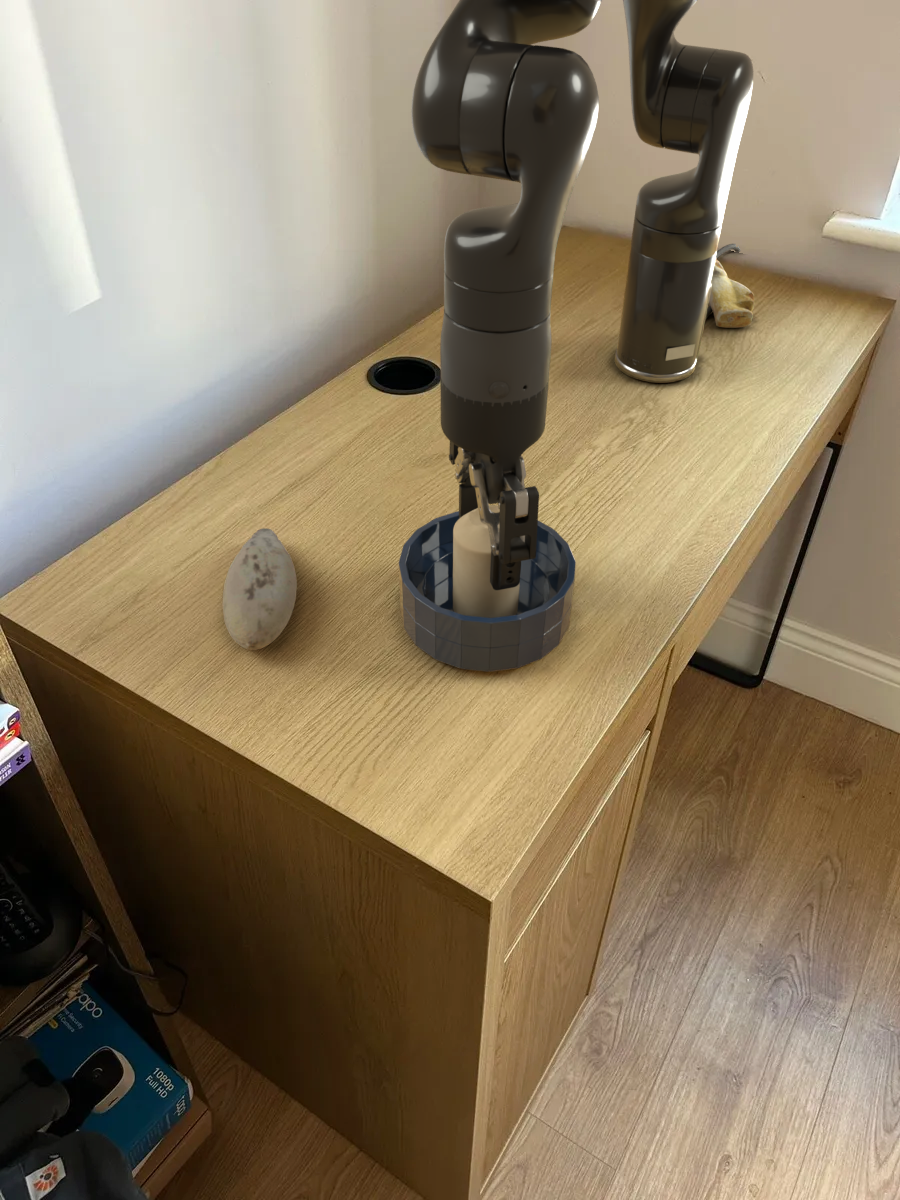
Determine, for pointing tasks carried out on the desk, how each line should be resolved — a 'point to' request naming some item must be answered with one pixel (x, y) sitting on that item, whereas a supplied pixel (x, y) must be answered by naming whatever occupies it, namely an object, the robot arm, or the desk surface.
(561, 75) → the robot arm
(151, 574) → the desk surface
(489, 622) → the bowl
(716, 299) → the figurine
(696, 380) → the desk surface
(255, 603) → the decorative stone
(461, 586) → the candle
